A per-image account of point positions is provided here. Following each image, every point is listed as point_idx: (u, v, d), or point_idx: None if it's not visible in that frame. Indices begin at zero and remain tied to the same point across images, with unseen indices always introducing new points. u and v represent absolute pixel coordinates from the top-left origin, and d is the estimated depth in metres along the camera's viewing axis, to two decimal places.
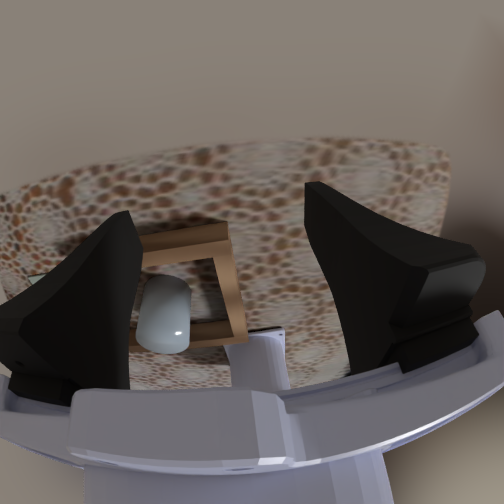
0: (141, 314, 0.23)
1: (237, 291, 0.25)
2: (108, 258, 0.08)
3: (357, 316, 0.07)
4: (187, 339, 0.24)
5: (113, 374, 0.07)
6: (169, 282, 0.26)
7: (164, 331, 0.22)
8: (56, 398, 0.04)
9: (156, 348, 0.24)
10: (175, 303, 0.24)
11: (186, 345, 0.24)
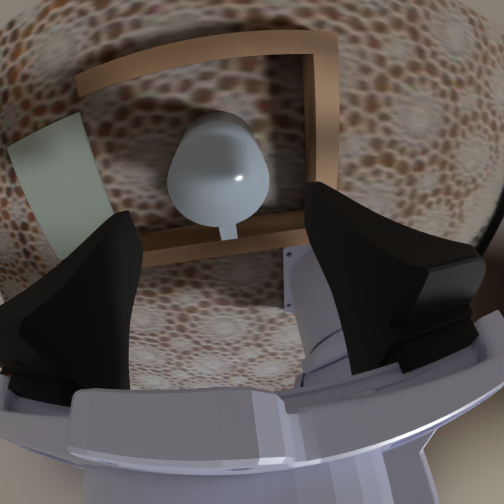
0: (183, 141, 0.13)
1: (337, 124, 0.15)
2: (108, 258, 0.08)
3: (357, 316, 0.07)
4: (267, 180, 0.13)
5: (113, 374, 0.07)
6: (229, 115, 0.16)
7: (228, 156, 0.12)
8: (56, 398, 0.04)
9: (201, 210, 0.14)
10: (244, 129, 0.14)
11: (260, 199, 0.14)
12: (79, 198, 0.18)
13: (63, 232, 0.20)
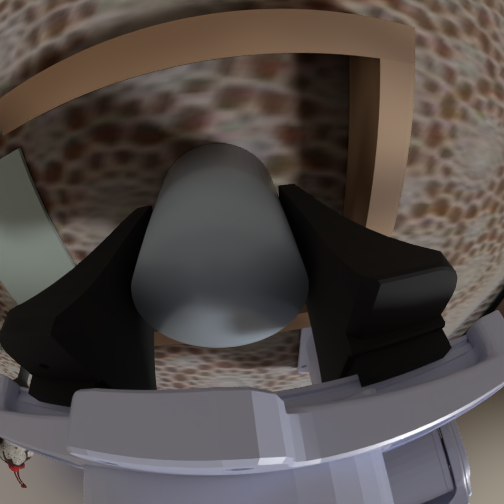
0: (155, 217, 0.08)
1: (403, 173, 0.09)
2: (134, 254, 0.08)
3: (322, 323, 0.07)
4: (304, 292, 0.08)
5: (141, 374, 0.07)
6: (235, 153, 0.10)
7: (237, 261, 0.07)
8: (56, 398, 0.04)
9: (193, 331, 0.08)
10: (262, 188, 0.09)
11: (290, 316, 0.08)
12: (38, 260, 0.13)
13: (29, 293, 0.14)
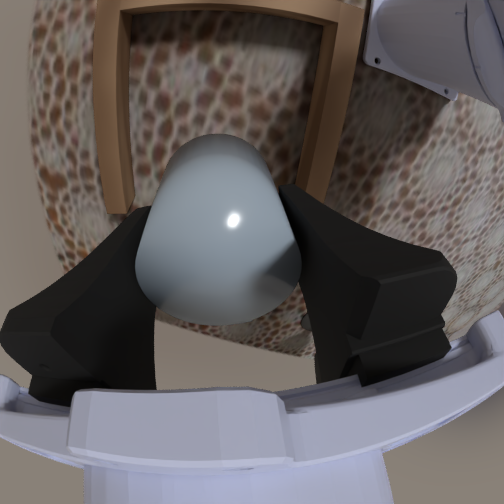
0: (156, 202, 0.08)
1: None
2: (134, 254, 0.08)
3: (322, 323, 0.07)
4: (298, 266, 0.08)
5: (141, 374, 0.07)
6: (229, 141, 0.10)
7: (231, 237, 0.07)
8: (56, 398, 0.04)
9: (196, 309, 0.09)
10: (254, 171, 0.09)
11: (287, 290, 0.09)
12: None
13: None
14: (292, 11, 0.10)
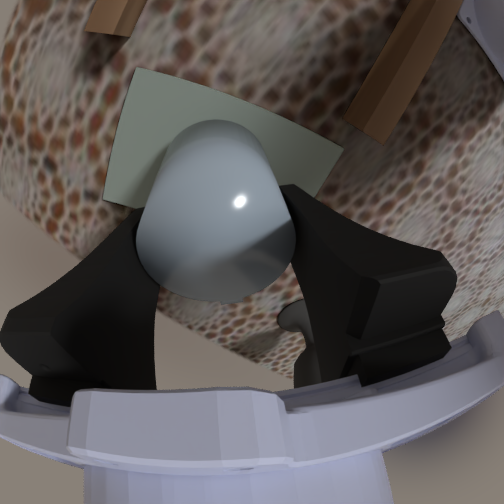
0: (160, 177, 0.08)
1: None
2: (134, 254, 0.08)
3: (322, 323, 0.07)
4: (292, 244, 0.09)
5: (141, 374, 0.07)
6: (231, 127, 0.11)
7: (232, 210, 0.08)
8: (56, 398, 0.04)
9: (191, 283, 0.09)
10: (255, 154, 0.09)
11: (280, 268, 0.09)
12: None
13: None
14: None
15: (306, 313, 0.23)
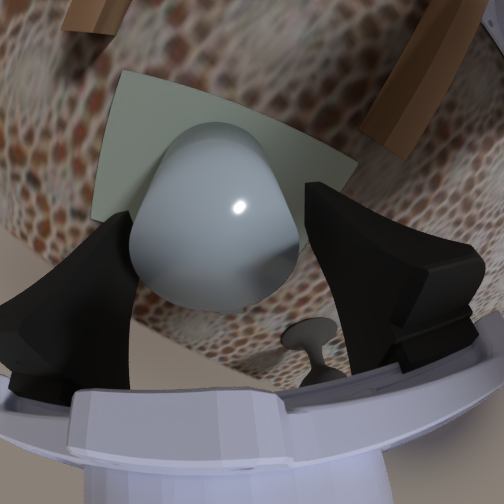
0: (155, 179, 0.08)
1: None
2: (108, 258, 0.08)
3: (357, 316, 0.07)
4: (295, 250, 0.08)
5: (113, 374, 0.07)
6: (231, 129, 0.10)
7: (230, 213, 0.07)
8: (56, 398, 0.04)
9: (188, 292, 0.09)
10: (256, 156, 0.09)
11: (282, 276, 0.09)
12: None
13: None
14: None
15: (311, 333, 0.22)
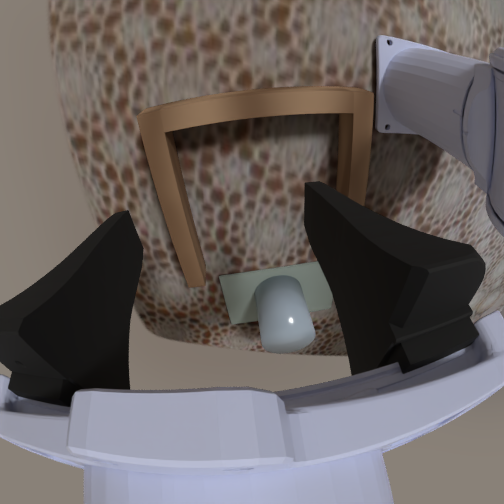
0: (261, 323, 0.25)
1: (233, 98, 0.14)
2: (108, 258, 0.08)
3: (357, 316, 0.07)
4: (312, 329, 0.24)
5: (113, 374, 0.07)
6: (276, 283, 0.27)
7: (288, 331, 0.24)
8: (56, 398, 0.04)
9: (285, 349, 0.26)
10: (289, 300, 0.25)
11: (313, 335, 0.25)
12: None
13: (309, 299, 0.31)
14: (315, 112, 0.15)
15: None
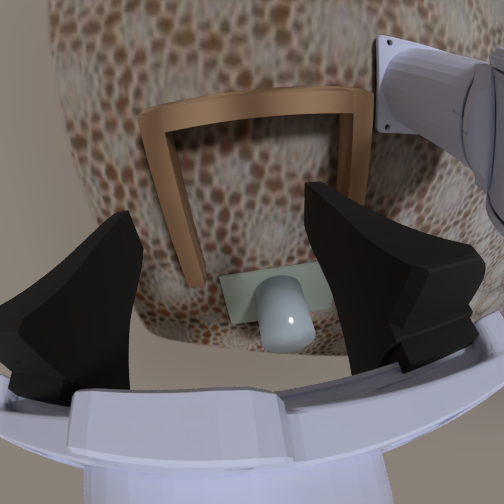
0: (261, 323, 0.25)
1: (233, 98, 0.14)
2: (108, 258, 0.08)
3: (357, 316, 0.07)
4: (312, 329, 0.24)
5: (113, 374, 0.07)
6: (276, 283, 0.27)
7: (288, 331, 0.24)
8: (56, 398, 0.04)
9: (285, 349, 0.26)
10: (289, 300, 0.25)
11: (313, 335, 0.25)
12: None
13: (309, 299, 0.31)
14: (315, 112, 0.15)
15: None
